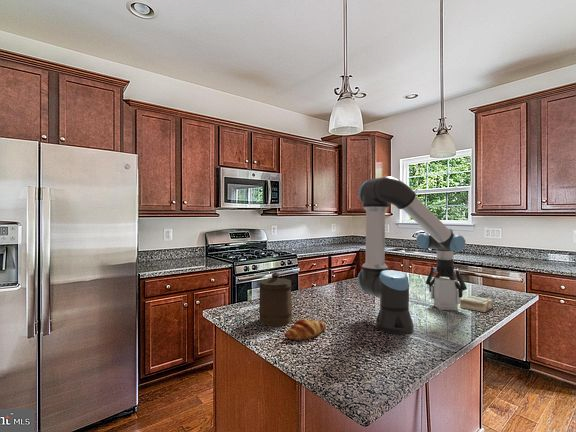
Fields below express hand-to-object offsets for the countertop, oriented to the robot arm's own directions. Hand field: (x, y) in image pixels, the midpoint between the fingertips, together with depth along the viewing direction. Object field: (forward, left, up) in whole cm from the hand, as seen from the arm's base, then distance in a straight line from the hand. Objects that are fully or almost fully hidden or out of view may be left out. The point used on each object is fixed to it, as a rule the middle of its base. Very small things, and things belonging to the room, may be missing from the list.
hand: (445, 301), depth 159 cm
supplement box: (0, 0, -4) cm, 4 cm away
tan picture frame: (+12, -10, -3) cm, 16 cm away
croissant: (-77, +21, -4) cm, 80 cm away
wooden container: (-76, +43, -4) cm, 87 cm away
